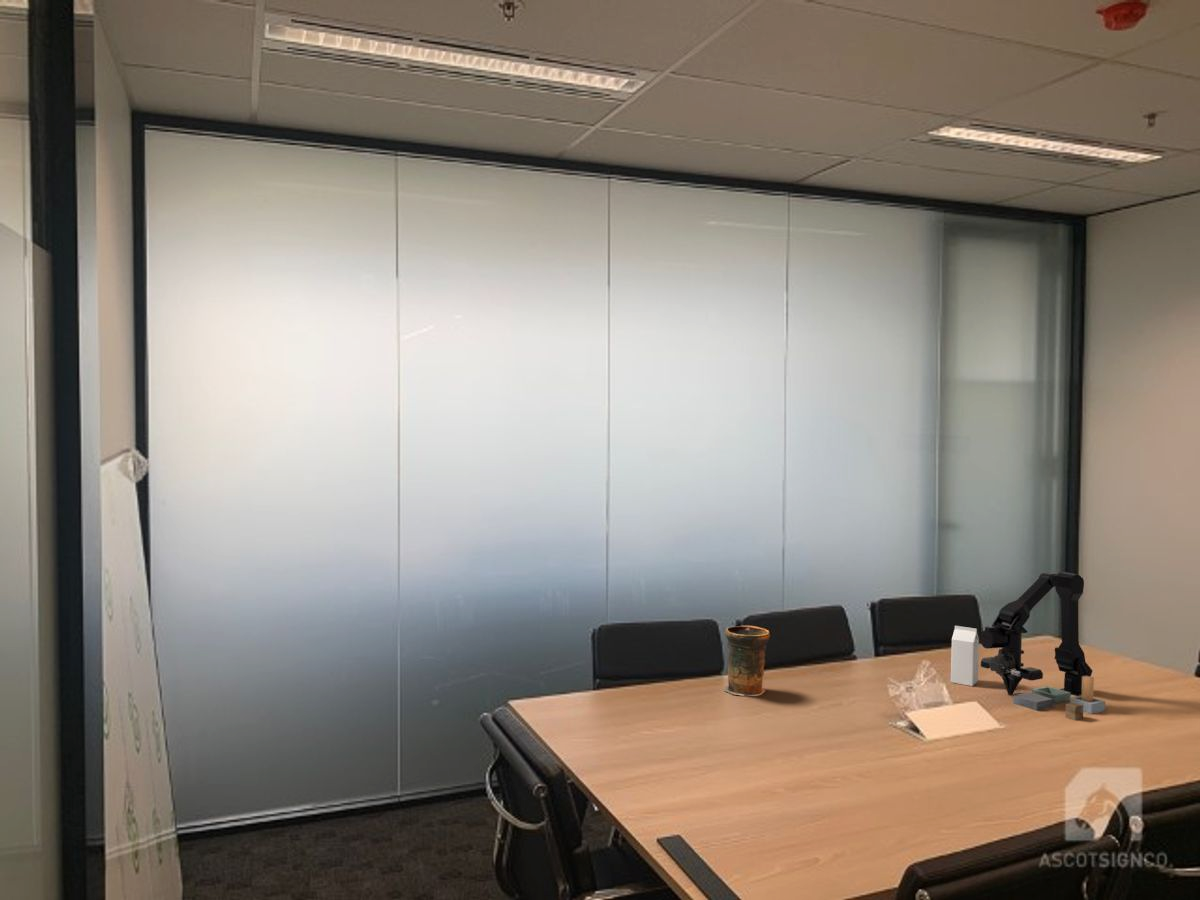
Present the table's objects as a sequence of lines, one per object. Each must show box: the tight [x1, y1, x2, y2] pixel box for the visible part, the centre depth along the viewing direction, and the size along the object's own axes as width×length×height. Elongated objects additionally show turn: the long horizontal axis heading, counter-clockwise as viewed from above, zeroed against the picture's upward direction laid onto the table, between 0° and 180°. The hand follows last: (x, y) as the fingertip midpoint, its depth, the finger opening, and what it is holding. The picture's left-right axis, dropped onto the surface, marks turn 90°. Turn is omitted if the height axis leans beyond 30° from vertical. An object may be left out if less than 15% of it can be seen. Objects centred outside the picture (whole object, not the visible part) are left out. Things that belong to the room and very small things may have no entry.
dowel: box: [1080, 675, 1095, 703], centre depth 270 cm, size 3×3×10 cm
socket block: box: [1068, 695, 1106, 715], centre depth 270 cm, size 7×7×3 cm
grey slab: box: [1012, 691, 1054, 712], centre depth 273 cm, size 8×8×3 cm
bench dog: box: [1064, 702, 1084, 721], centre depth 261 cm, size 4×3×4 cm
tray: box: [1031, 685, 1072, 705], centre depth 280 cm, size 8×8×2 cm
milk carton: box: [950, 625, 980, 687], centre depth 297 cm, size 7×7×19 cm
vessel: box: [723, 625, 771, 697], centre depth 282 cm, size 14×14×20 cm
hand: (1010, 694), depth 280 cm, fingers closed
